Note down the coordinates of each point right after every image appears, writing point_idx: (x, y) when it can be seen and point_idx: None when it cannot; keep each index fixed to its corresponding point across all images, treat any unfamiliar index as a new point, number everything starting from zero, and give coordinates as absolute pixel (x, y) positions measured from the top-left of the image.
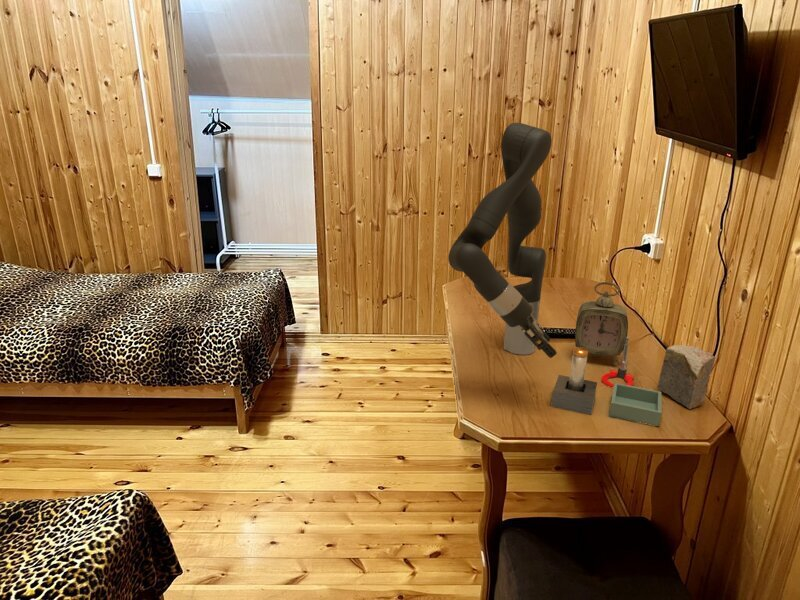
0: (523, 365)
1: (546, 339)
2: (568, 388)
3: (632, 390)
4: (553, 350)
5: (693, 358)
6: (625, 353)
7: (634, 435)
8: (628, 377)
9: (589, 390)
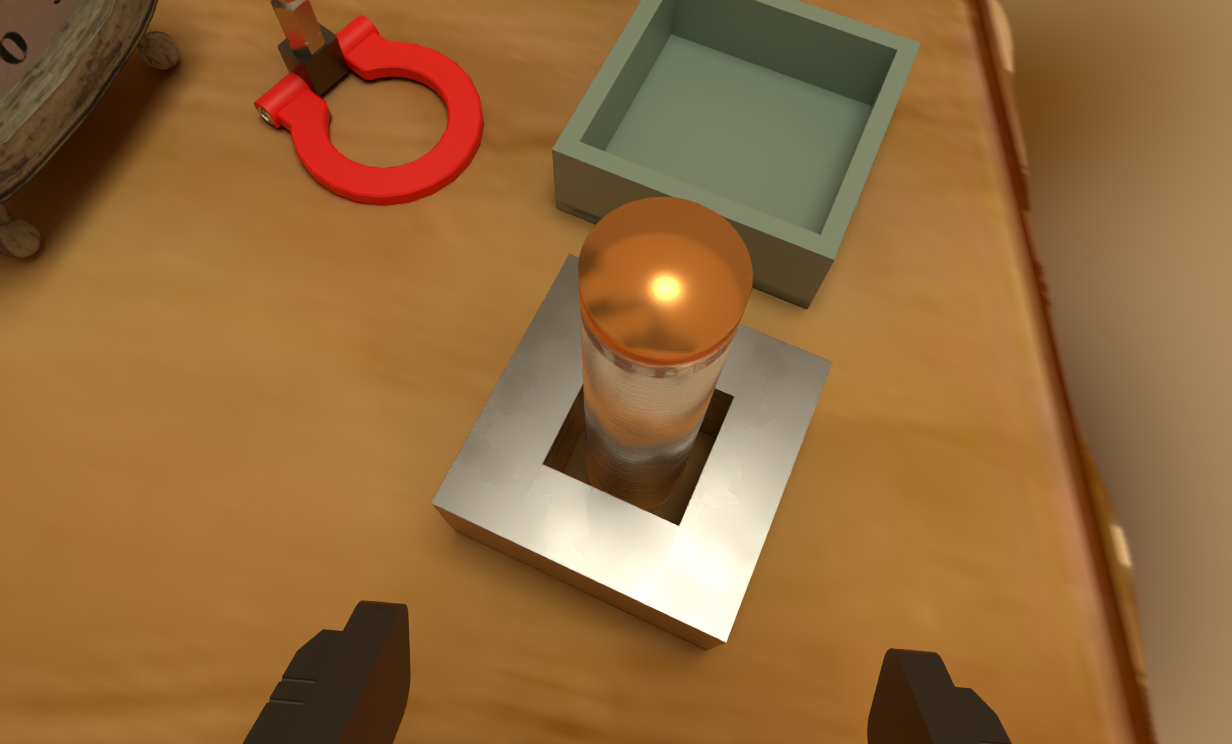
0: (4, 706)
1: (395, 668)
2: (642, 487)
3: (620, 86)
4: (959, 711)
5: None
6: None
7: (993, 247)
8: (366, 48)
9: None
